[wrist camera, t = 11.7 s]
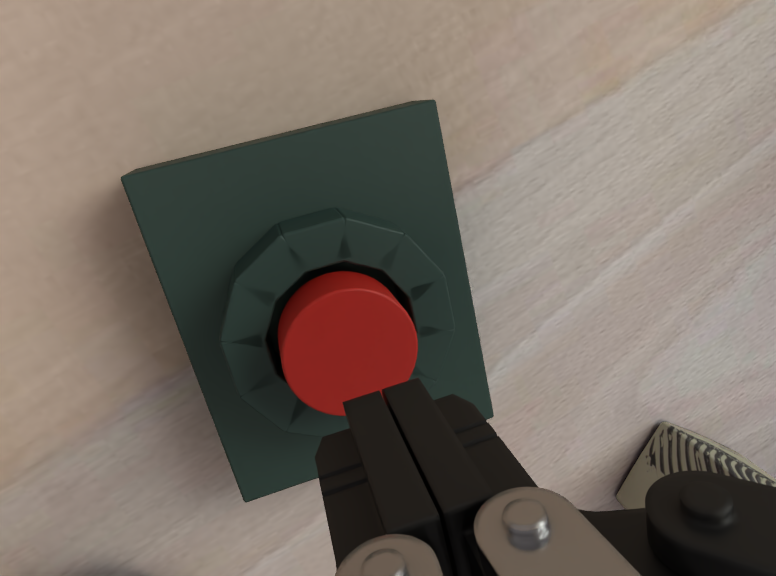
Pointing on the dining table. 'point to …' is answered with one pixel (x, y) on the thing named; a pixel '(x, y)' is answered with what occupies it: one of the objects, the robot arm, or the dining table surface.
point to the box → (683, 462)
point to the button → (344, 340)
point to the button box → (306, 268)
